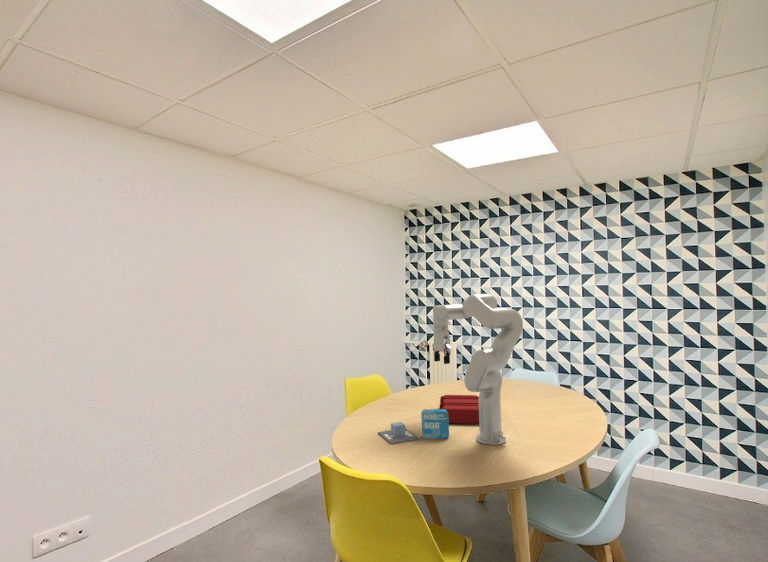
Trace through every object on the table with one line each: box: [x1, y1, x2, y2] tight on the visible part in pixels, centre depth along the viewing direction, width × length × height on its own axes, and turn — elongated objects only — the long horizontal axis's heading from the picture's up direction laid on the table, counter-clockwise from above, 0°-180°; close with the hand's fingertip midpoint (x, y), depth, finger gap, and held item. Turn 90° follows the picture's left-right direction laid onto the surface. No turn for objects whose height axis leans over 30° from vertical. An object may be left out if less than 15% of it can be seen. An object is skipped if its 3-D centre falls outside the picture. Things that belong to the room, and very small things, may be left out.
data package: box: [420, 408, 450, 440], centre depth 179 cm, size 12×4×12 cm, turn 89°
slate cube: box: [390, 421, 406, 438], centre depth 181 cm, size 5×5×5 cm
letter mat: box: [377, 427, 420, 445], centre depth 181 cm, size 16×14×1 cm
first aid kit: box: [439, 394, 479, 425], centre depth 212 cm, size 32×23×9 cm
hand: (441, 362), depth 203 cm, fingers open, 9 cm apart
